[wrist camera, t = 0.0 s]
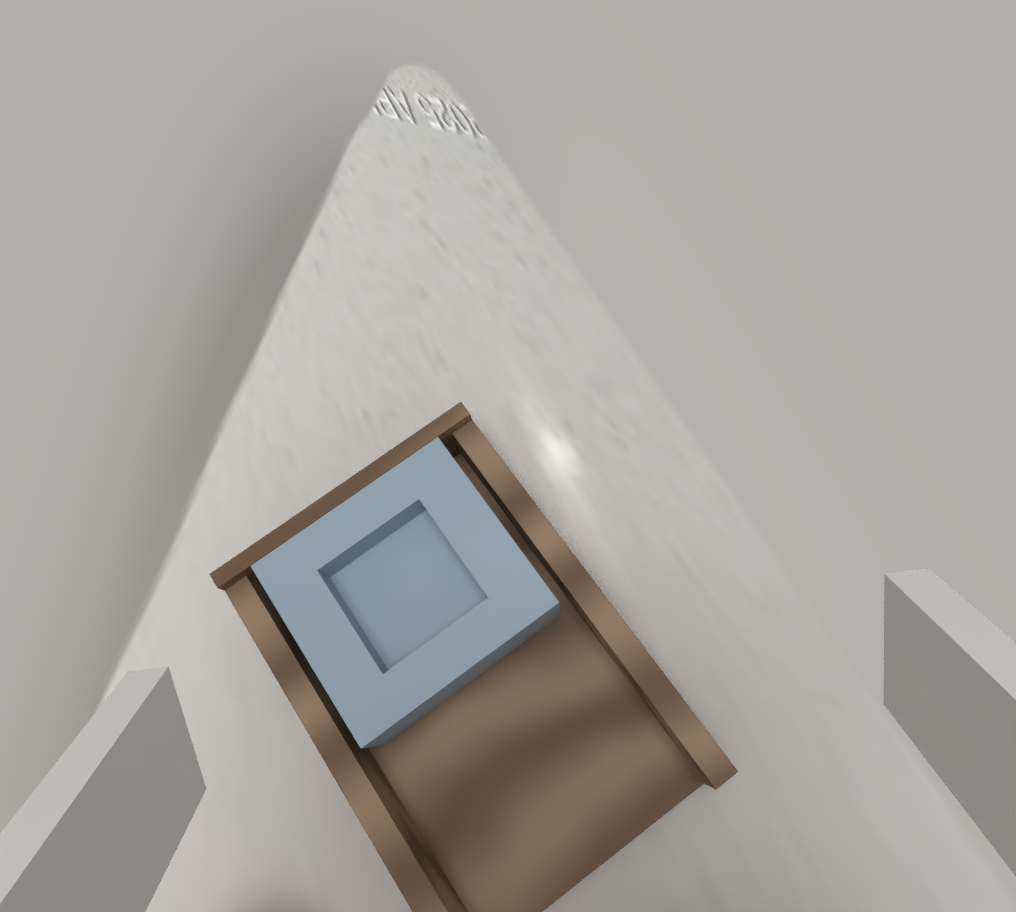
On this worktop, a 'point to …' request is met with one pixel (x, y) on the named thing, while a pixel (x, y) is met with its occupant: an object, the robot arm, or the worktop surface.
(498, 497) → the bay
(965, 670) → the robot arm
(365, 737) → the blue recessed block
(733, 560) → the worktop surface
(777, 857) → the worktop surface
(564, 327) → the worktop surface
